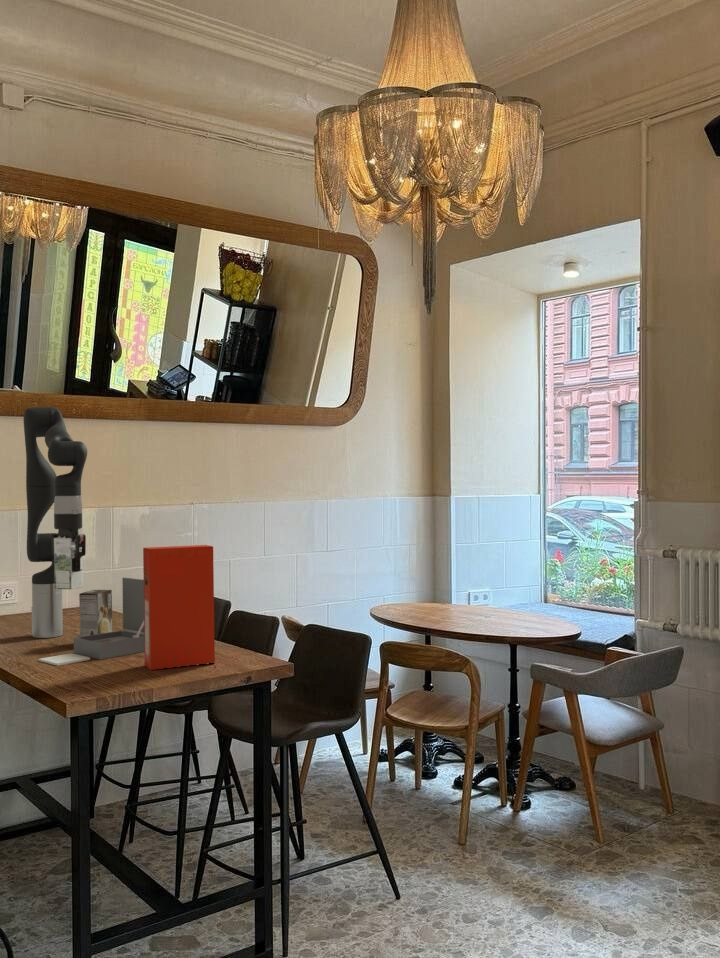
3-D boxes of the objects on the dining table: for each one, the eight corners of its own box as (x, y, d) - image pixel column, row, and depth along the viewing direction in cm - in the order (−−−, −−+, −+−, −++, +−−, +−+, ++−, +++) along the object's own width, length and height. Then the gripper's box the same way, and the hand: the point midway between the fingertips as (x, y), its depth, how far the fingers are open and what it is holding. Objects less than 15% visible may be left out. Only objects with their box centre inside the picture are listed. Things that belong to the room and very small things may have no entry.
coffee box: (94, 640, 279) (93, 589, 279) (113, 640, 278) (112, 589, 278) (79, 645, 270) (78, 593, 270) (98, 646, 269) (98, 593, 269)
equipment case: (73, 653, 258) (73, 582, 258) (125, 644, 271) (124, 577, 271) (100, 659, 249) (99, 586, 249) (152, 650, 262) (152, 580, 262)
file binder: (144, 665, 241) (143, 547, 241) (206, 658, 248) (205, 544, 248) (151, 670, 233) (149, 549, 233) (214, 664, 241) (213, 546, 241)
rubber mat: (38, 660, 248) (38, 658, 248) (71, 655, 255) (71, 653, 255) (57, 665, 241) (57, 663, 241) (90, 659, 249) (90, 657, 249)
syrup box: (84, 587, 251) (83, 536, 251) (71, 589, 245) (70, 537, 245) (67, 586, 253) (66, 536, 253) (53, 589, 247) (53, 537, 247)
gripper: (42, 512, 251) (42, 570, 251) (70, 512, 242) (70, 573, 242) (66, 511, 257) (66, 568, 257) (94, 512, 247) (94, 571, 247)
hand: (68, 570), depth 249 cm, fingers closed on syrup box, 7 cm apart
